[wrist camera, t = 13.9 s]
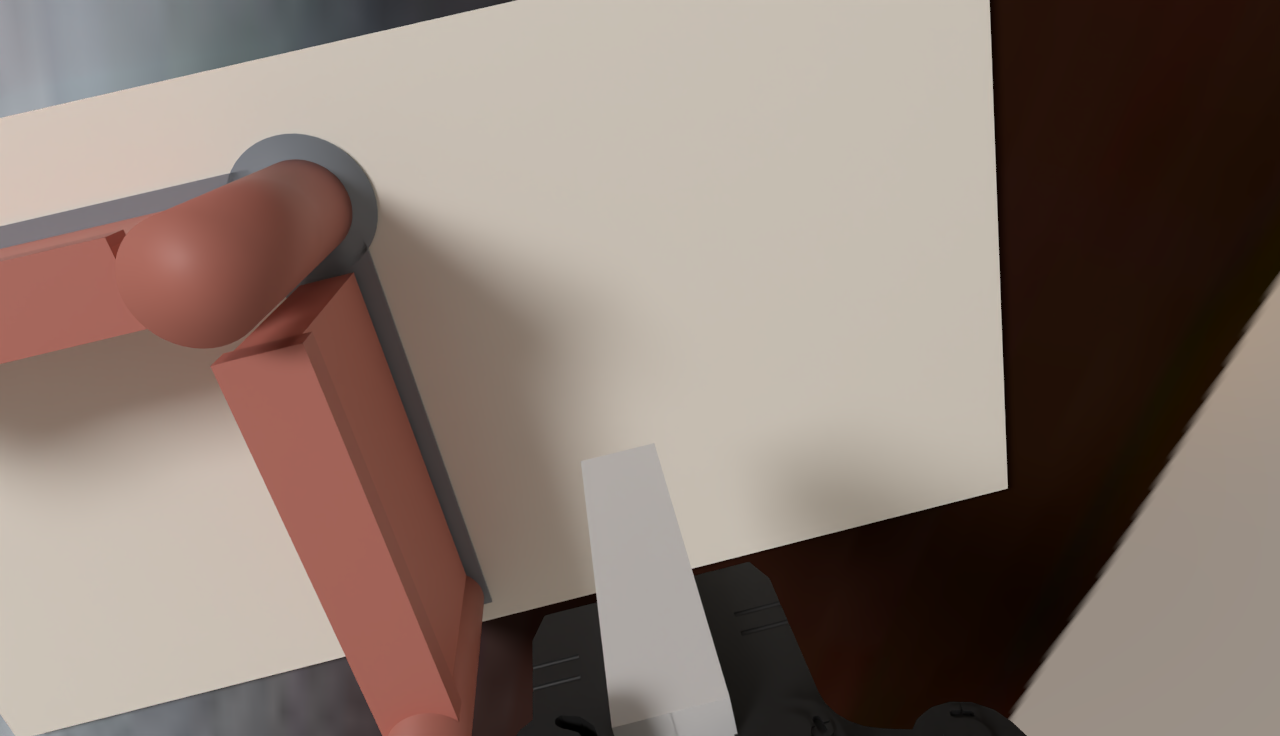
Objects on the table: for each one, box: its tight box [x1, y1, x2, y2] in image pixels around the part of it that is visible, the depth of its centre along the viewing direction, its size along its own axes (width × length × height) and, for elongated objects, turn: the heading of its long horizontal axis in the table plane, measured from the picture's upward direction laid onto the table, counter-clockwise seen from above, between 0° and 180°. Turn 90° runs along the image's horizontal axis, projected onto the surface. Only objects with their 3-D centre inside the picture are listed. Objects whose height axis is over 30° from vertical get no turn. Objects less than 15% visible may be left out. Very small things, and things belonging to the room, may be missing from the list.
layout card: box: [0, 0, 1008, 736], centre depth 22 cm, size 17×32×1 cm, turn 103°
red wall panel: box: [210, 272, 484, 736], centre depth 20 cm, size 11×2×6 cm, turn 13°
